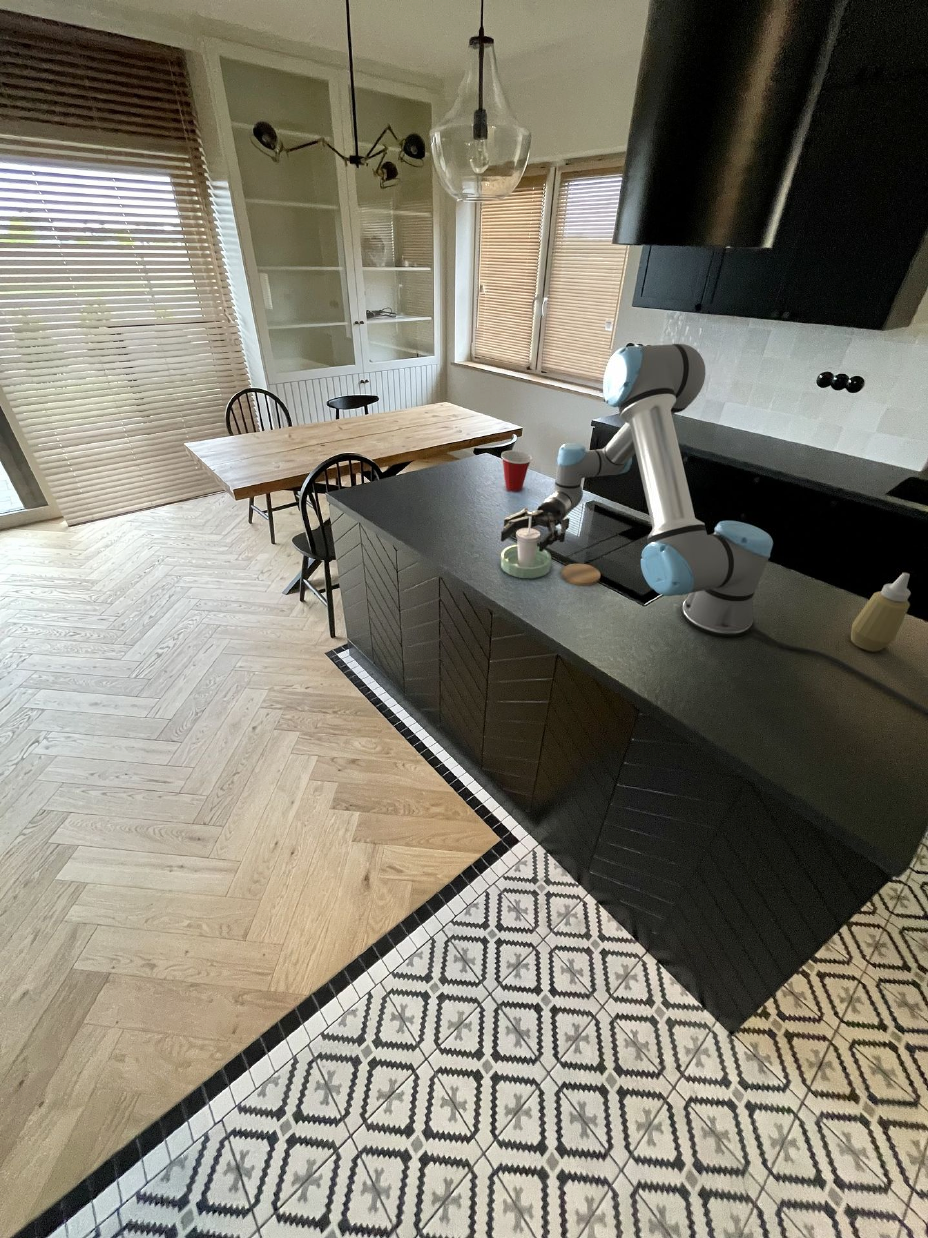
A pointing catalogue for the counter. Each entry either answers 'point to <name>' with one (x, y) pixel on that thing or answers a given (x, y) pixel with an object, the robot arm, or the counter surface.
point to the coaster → (581, 574)
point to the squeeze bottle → (882, 616)
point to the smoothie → (527, 545)
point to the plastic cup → (515, 468)
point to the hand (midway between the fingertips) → (521, 541)
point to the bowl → (512, 567)
